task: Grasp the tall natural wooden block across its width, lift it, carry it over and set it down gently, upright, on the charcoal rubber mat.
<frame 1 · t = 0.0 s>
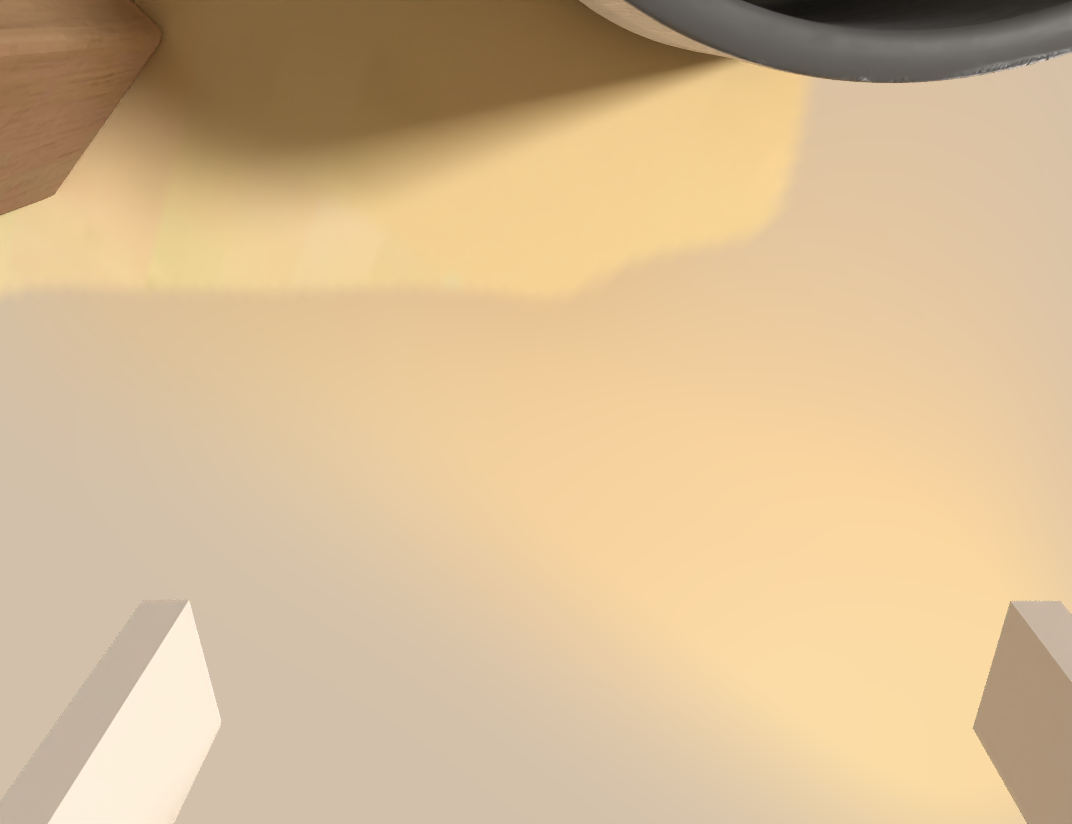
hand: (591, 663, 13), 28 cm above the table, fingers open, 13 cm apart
wooden block: (13, 34, 36), on the table
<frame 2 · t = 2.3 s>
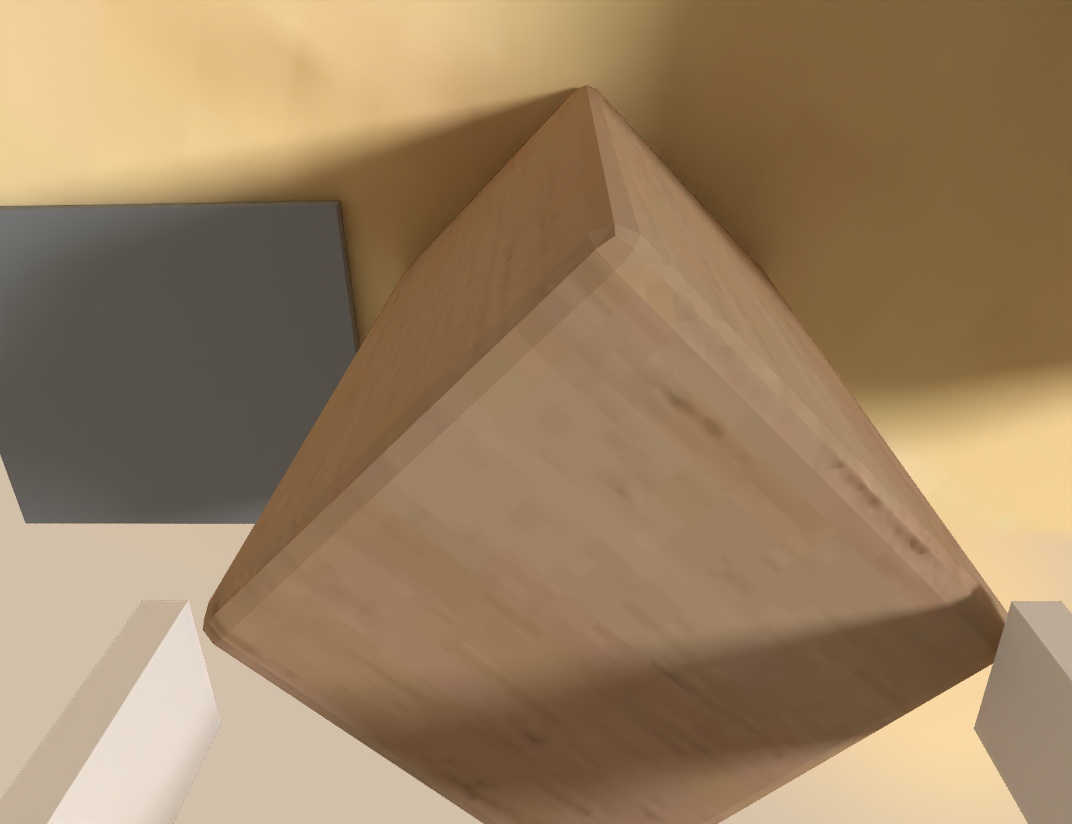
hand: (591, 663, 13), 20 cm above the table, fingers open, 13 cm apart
mat: (170, 374, 34), on the table
wooden block: (582, 274, 31), on the table, touching gripper
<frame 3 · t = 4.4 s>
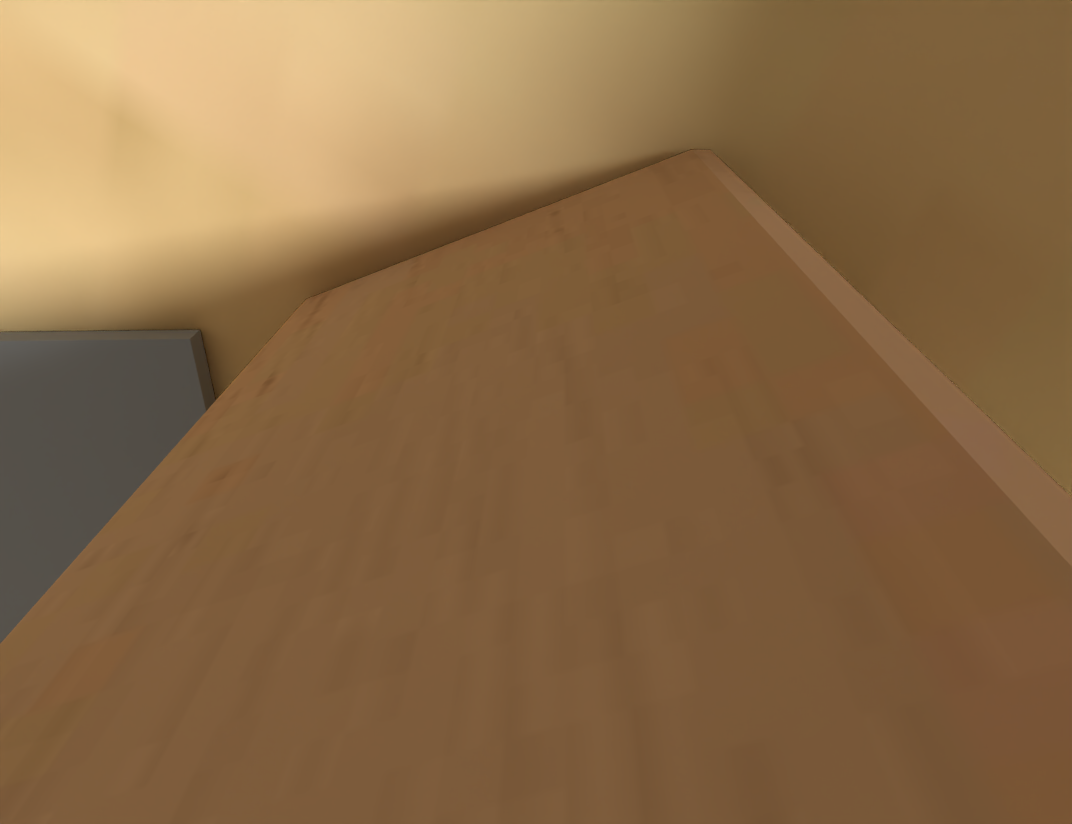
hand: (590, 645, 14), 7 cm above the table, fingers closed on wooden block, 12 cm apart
wooden block: (570, 408, 20), on the table, touching gripper
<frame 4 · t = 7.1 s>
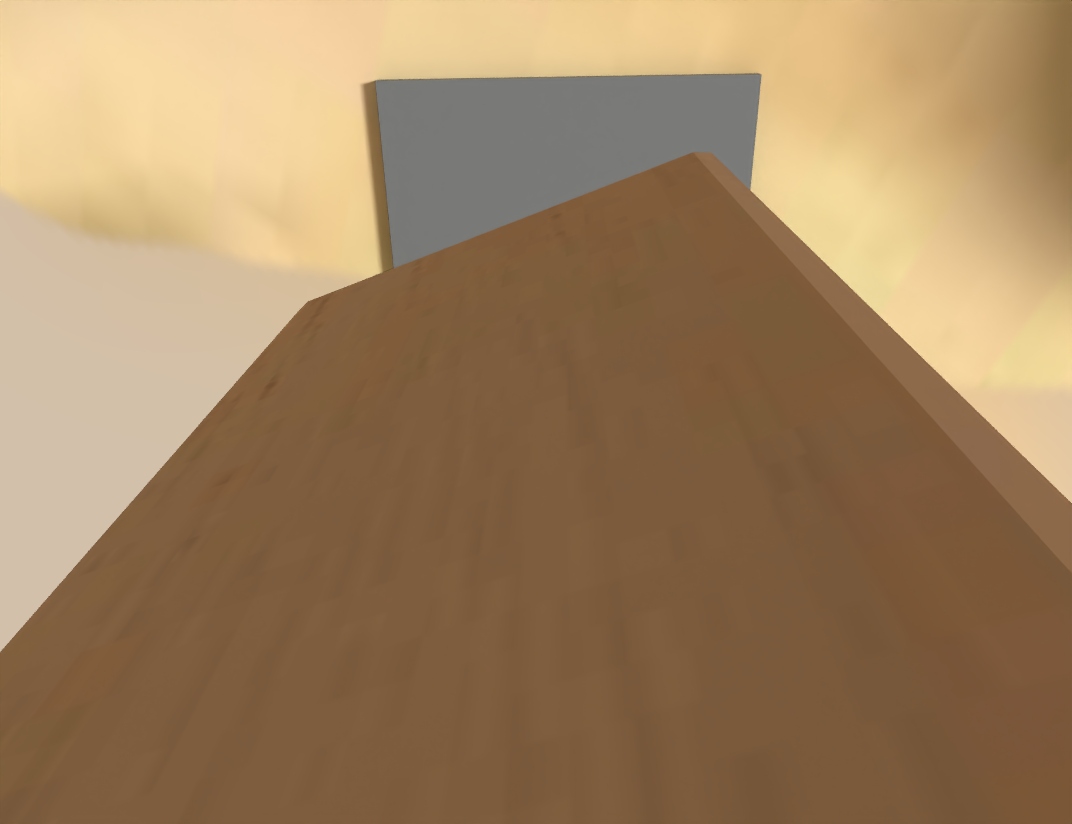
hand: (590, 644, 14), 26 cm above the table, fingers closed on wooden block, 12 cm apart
mat: (566, 240, 38), on the table
wooden block: (571, 411, 20), point 19 cm above the table, touching gripper
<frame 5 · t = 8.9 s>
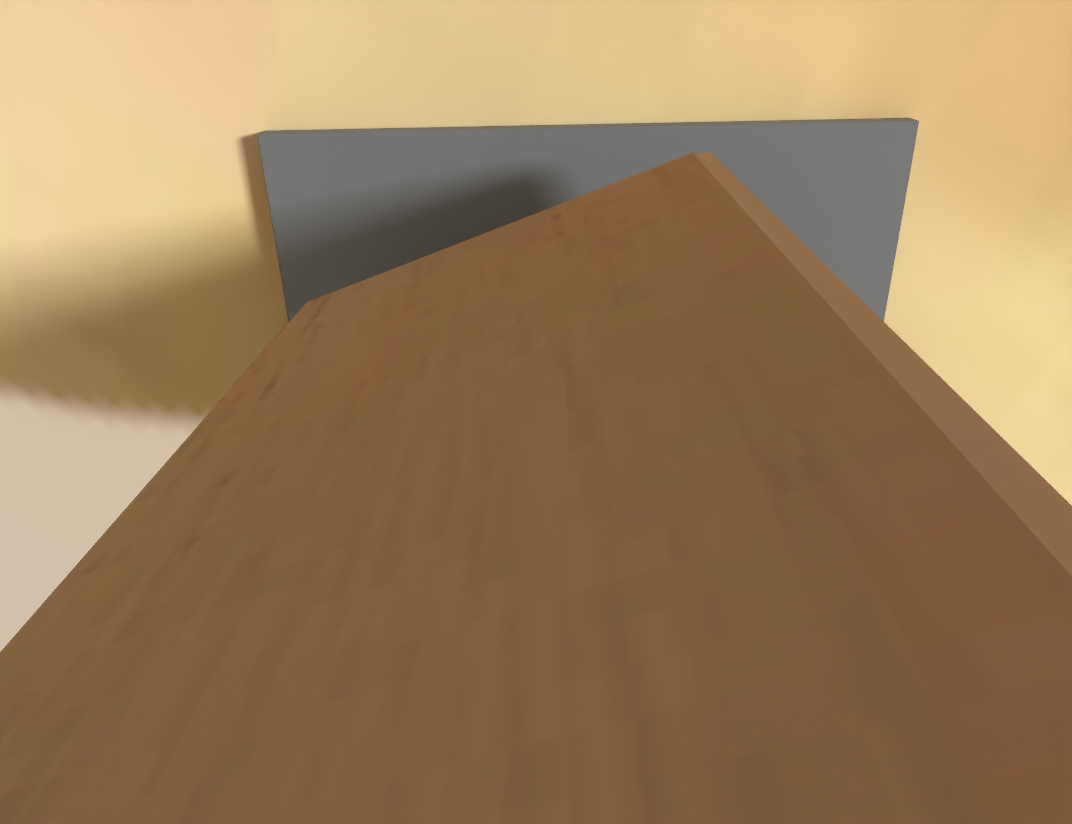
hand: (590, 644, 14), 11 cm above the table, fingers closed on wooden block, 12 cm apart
mat: (581, 380, 23), on the table
wooden block: (571, 411, 20), point 3 cm above the table, touching gripper
when the fingers open (9 cm above the table, at t = 10.2 s): wooden block drops 1 cm, resting on mat.
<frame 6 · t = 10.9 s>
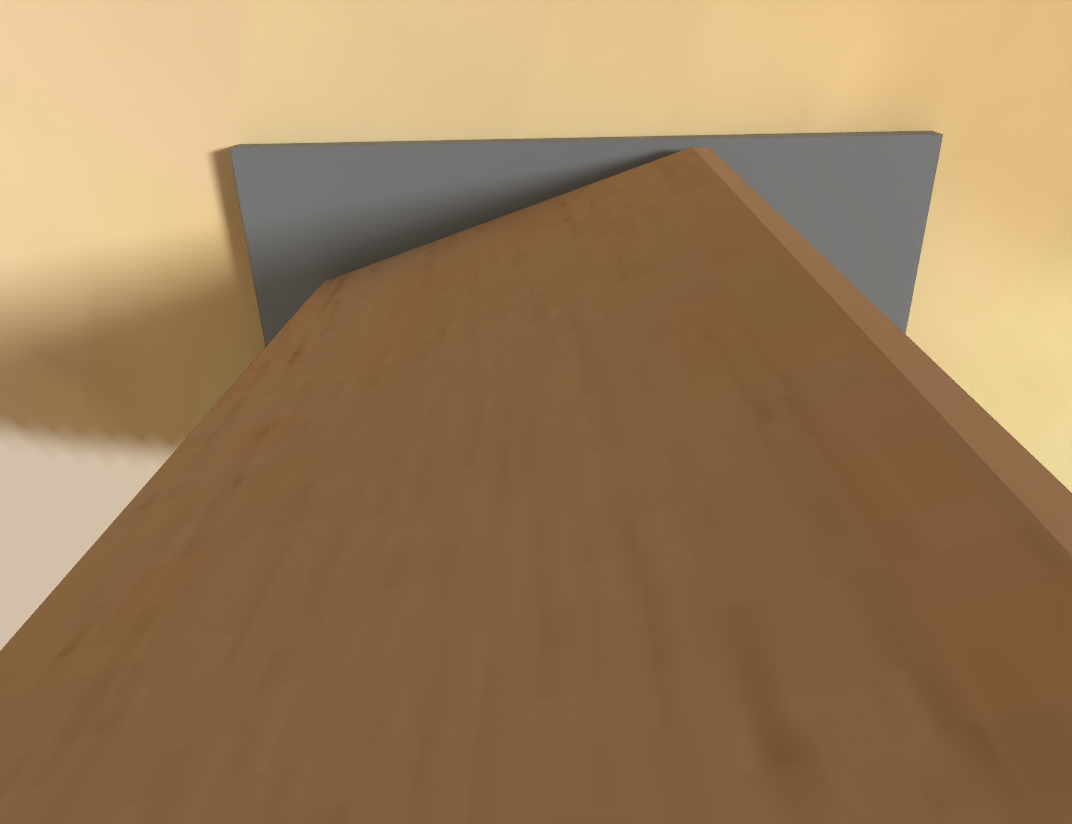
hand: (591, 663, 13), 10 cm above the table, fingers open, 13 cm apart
mat: (579, 409, 22), on the table
wooden block: (572, 391, 21), resting on mat
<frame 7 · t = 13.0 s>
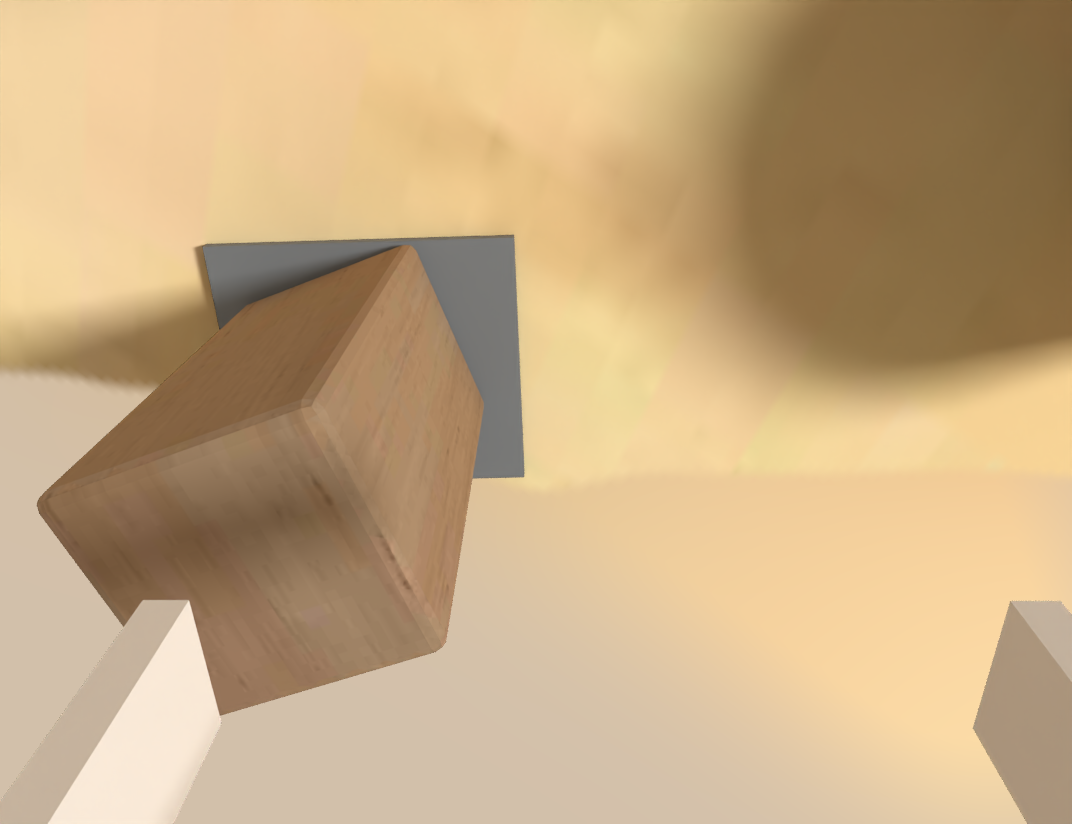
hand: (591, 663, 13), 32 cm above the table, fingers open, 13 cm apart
mat: (375, 365, 45), on the table
wooden block: (368, 355, 45), resting on mat
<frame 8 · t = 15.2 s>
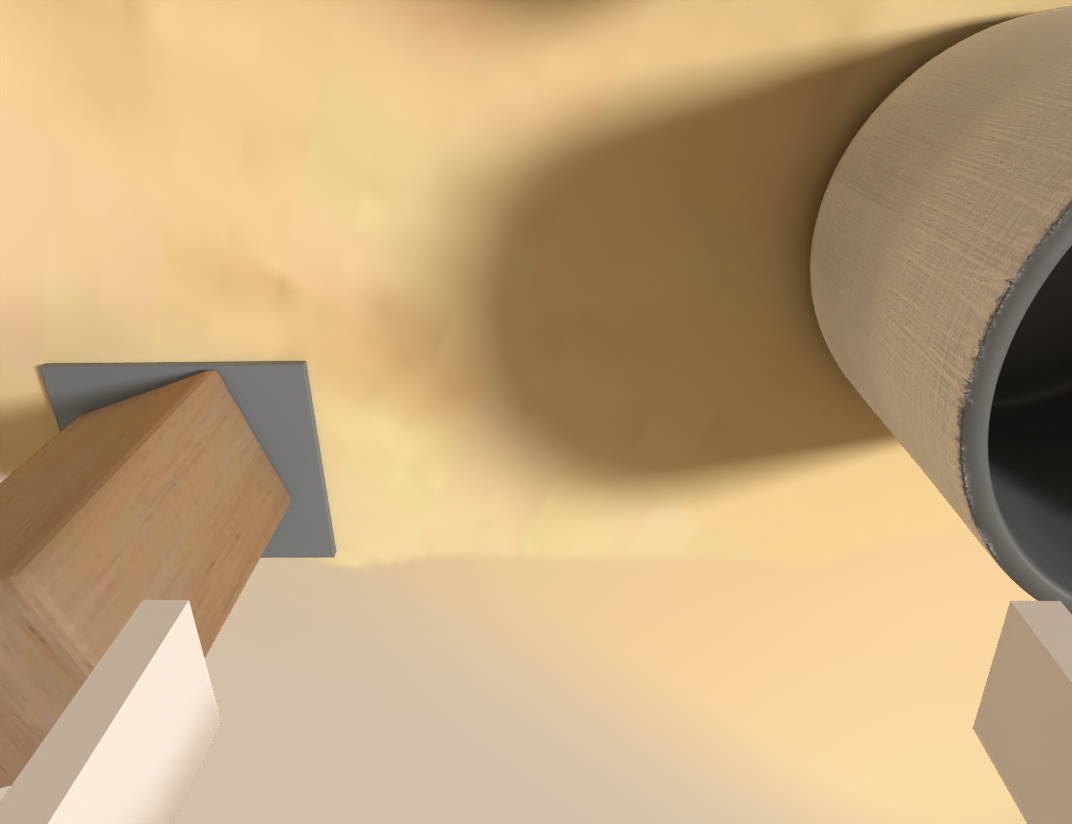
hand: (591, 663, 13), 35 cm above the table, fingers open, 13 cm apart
mat: (198, 462, 52), on the table
planter: (1009, 234, 45), on the table
wooden block: (190, 456, 52), resting on mat
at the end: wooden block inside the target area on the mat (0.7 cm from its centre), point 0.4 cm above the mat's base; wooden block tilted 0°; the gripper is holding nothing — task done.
